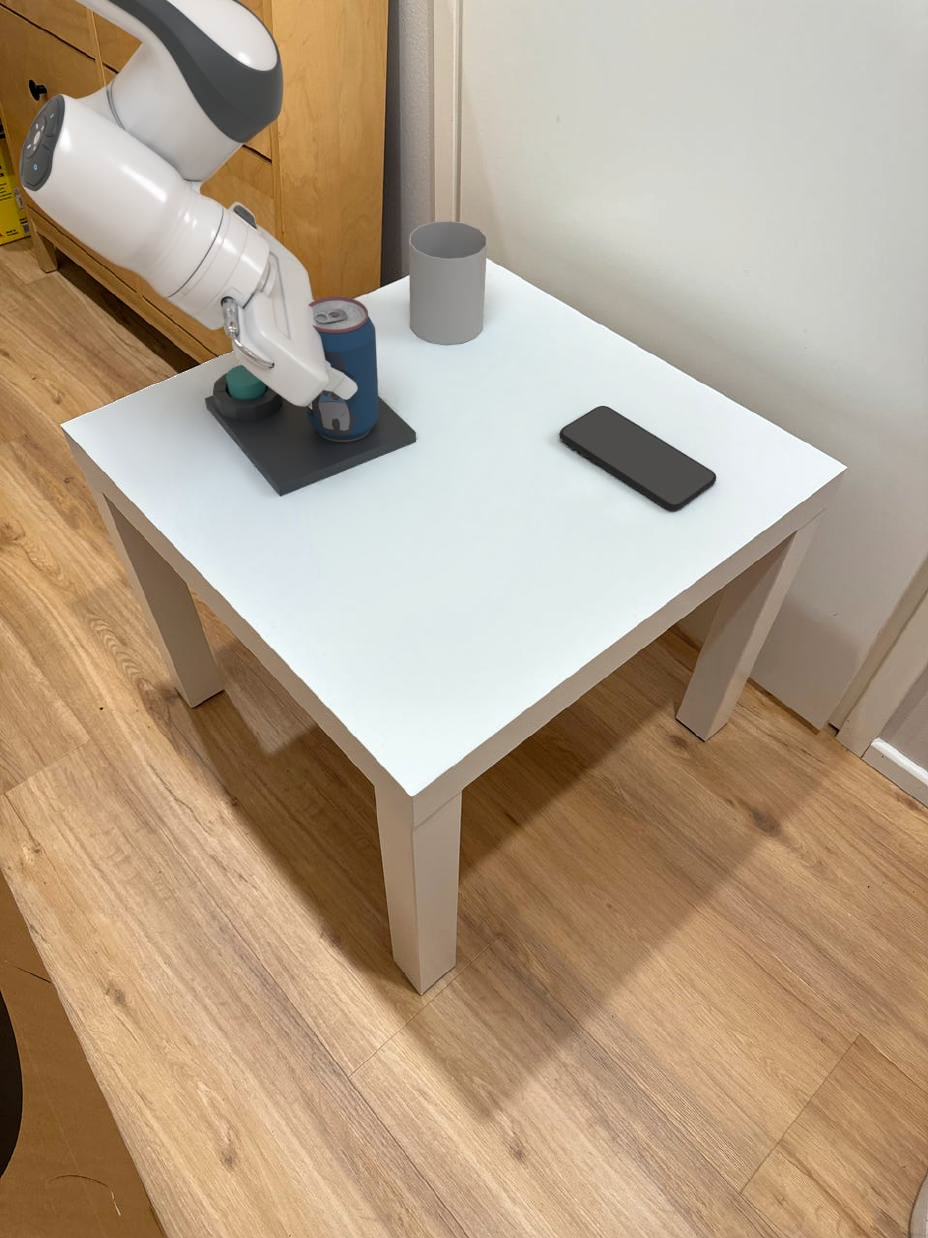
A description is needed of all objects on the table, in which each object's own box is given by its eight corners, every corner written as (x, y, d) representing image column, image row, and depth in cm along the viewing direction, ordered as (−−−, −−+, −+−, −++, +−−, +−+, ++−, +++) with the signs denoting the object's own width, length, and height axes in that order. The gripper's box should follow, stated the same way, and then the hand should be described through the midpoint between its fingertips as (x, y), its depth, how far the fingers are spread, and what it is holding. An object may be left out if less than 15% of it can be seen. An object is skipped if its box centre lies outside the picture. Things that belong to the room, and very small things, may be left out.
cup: (399, 312, 105) (397, 228, 98) (463, 298, 108) (466, 215, 100) (428, 351, 100) (428, 265, 93) (495, 335, 103) (500, 250, 95)
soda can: (364, 397, 93) (358, 286, 84) (390, 436, 88) (386, 324, 79) (299, 413, 90) (285, 301, 81) (322, 453, 86) (310, 339, 77)
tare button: (238, 405, 89) (236, 389, 87) (222, 386, 91) (219, 371, 89) (272, 393, 90) (270, 378, 89) (255, 375, 92) (253, 360, 91)
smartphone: (675, 510, 84) (554, 431, 90) (673, 517, 84) (553, 438, 91) (722, 474, 87) (602, 401, 94) (719, 482, 88) (601, 408, 94)
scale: (280, 496, 84) (276, 471, 82) (205, 406, 93) (200, 381, 90) (416, 441, 90) (416, 416, 88) (334, 361, 99) (332, 337, 96)
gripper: (251, 309, 68) (386, 406, 77) (238, 192, 81) (354, 287, 90) (201, 367, 70) (337, 455, 79) (196, 245, 84) (313, 332, 92)
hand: (346, 365), depth 85 cm, fingers closed on soda can, 7 cm apart
